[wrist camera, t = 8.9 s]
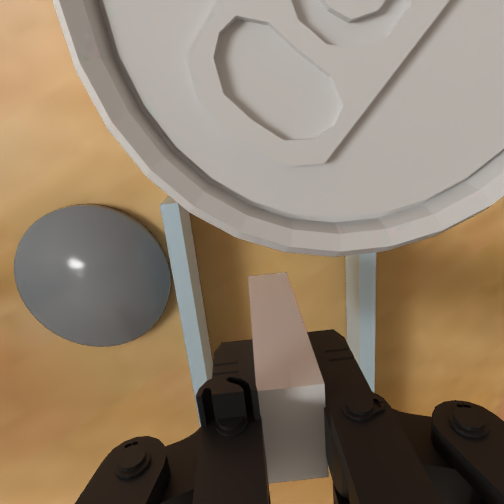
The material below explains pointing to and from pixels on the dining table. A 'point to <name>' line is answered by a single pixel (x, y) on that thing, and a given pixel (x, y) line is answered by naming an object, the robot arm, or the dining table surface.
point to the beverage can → (304, 112)
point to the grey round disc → (92, 275)
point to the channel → (193, 312)
